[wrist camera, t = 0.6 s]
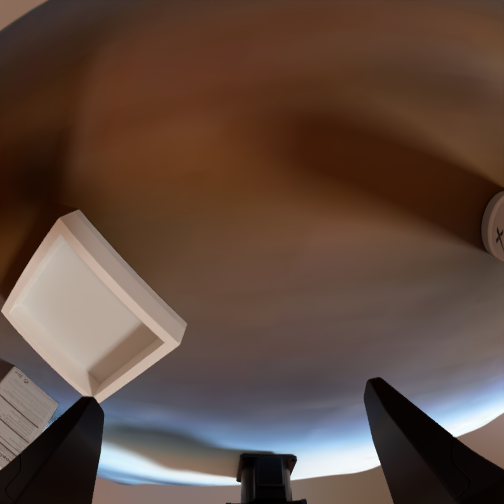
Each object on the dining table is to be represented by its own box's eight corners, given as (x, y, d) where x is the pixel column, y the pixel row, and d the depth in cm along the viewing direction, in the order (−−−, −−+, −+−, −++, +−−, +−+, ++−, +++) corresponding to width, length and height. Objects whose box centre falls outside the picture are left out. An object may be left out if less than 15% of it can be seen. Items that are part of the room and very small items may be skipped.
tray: (187, 323, 25) (179, 344, 22) (105, 386, 27) (95, 405, 24) (79, 209, 22) (59, 217, 19) (17, 297, 24) (0, 311, 21)
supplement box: (46, 423, 30) (9, 489, 18) (5, 388, 29) (-41, 448, 17) (61, 404, 29) (17, 480, 17) (14, 363, 27) (-41, 430, 15)
